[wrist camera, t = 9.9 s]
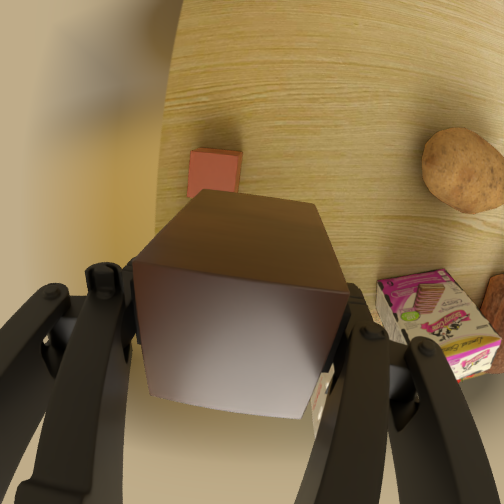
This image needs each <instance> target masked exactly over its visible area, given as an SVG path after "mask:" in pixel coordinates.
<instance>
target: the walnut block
mask: <svg viewBox="0 0 504 504" xmlns="http://www.w3.org/2000/svg"><path fill="white" fill-rule="evenodd" d="M132 266H133V279H134V290H135V301H136V310H137V318H138V326H139V334H140V341H141V348H142V354H143V360H144V366H145V372H146V378H147V383H148V388H149V393H150V395H151V396H155V397H159V398H163V399H167V400H172V401H176V402H181V403H185V404H190V405H195V406H200V407H206V408H211V409H217V410H223V411H229V412H236V413H244V414H251V415H260V416H269V417H279V418H291V419H301V418H302V417H303V414H304V412H305V410H306V407H307V405H308V403H309V401H310V399H311V396H312V394H313V392H314V389H315V387H316V385H317V382H318V380H319V377H320V375H321V372H322V370H323V367H324V365H325V362H326V360H327V357H328V355H329V352H330V349H331V347H332V344H333V341H334V339H335V336H336V333H337V330H338V328H339V325H340V322H341V319H342V316H343V313H344V310H345V307H346V304H347V301H348V298H349V295H350V291H349V289H348V286H347V283H346V281H345V278H344V275H343V273H342V270H341V267H340V265H339V262H338V260H337V257H336V255H335V252H334V250H333V247H332V245H331V242H330V240H329V237H328V235H327V232H326V230H325V227H324V225H323V223H322V220H321V218H320V215H319V213H318V211H317V208H316V206H315V204H312V203H305V202H299V201H293V200H286V199H280V198H273V197H266V196H259V195H251V194H244V193H236V192H228V191H220V190H211V189H202V190H201V191H200V192H199V193H198V194H197V195H196V196H195V197H194V198H193V199H192V200H191V201H190V202H189V203H188V204H187V205H186V206H185V207H184V208H183V209H182V210H181V211H180V212H179V213H178V214H177V215H176V216H175V217H174V218H173V219H172V220H171V221H170V222H169V223H168V224H167V225H166V226H165V227H164V228H163V229H162V230H161V231H160V232H159V233H158V234H157V235H156V236H155V237H154V238H153V239H152V240H151V241H150V243H149V244H148V245H147V246H146V247H145V248H144V249H143V250H142V251H141V252H140V253H139V254H138V255H137V256H136V258H135V259H134V260H133V261H132Z"/></svg>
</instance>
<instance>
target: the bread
mask: <svg viewBox="0 0 504 504" xmlns="http://www.w3.org/2000/svg"><path fill="white" fill-rule="evenodd" d="M480 311H481V312H482V314H483V315H484V316H485V317H486V319H487V320H488V321H489V323H490V324H491V325H492V327H493V328H494V329H495V331H496V332H497V333H498V335H499V336H500V337H501V338H502V339H501V343H500V346H499V348H498V350H497V353H496V355H495V358H494V360H493V363H492V365H491V367H490V369H488V370H485V371H483V372H486V373H491V374H500V373H504V274H500V275H496V276H493V277H491V278H490V281H489V284H488V288H487V291H486V294H485V297H484V300H483V303H482V306H481V309H480Z"/></svg>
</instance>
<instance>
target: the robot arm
mask: <svg viewBox="0 0 504 504" xmlns="http://www.w3.org/2000/svg"><path fill="white" fill-rule="evenodd" d="M135 258H136V257H134V258H132V259H131V260H130V261H129V262H128V263H127V266H125V267H124V268H123V269H122V268H121V267H120V266H119V265H117V264H115V263H110V262H102V263H97V264H93V265H91V266H90V267H88V268H87V269H86V270H85V276H86V282H87V288H88V294H87V296H70V295H69V291H68V288H67V287H66V285H63V284H61V283H50V284H48V285H45V286H43V287H41V288H40V289H39V290H37V292H36V293H34V294H33V296H31V297H30V298H29V299H28V300H27V302H26V303H24V304H23V305H22V306H21V308H20V309H19V310H18V311H17V312H16V313H15V314H14V315H13V316H12V317H11V318H10V319H9V320H8V321H7V322H6V324H4V326H3V327H2V328H1V329H0V504H1V503H2V501H3V498H4V496H5V494H6V491H7V489H8V487H9V485H10V482H11V480H12V478H13V476H14V473H15V471H16V469H17V467H18V465H19V463H20V460H21V458H22V456H23V454H24V452H25V450H26V448H27V446H28V444H29V442H30V440H31V438H32V436H33V434H34V433H35V431H36V429H37V427H38V425H39V423H40V421H41V420H42V418H43V416H44V414H45V412H46V414H45V418H44V423H43V426H42V430H41V435H40V439H39V444H38V449H37V454H36V459H35V465H34V470H33V474H32V476H31V478H30V479H28V480H25V481H22V482H21V483H20V484H19V486H18V487H17V491H16V495H15V501H14V504H123V503H122V502H123V501H122V500H123V497H122V479H123V475H122V474H123V445H124V427H125V414H126V402H127V392H128V383H129V373H130V366H131V358H132V351H133V350H132V344H131V340H132V338H133V337H134V335H135V333H136V337H137V344H140V345H141V341H140V334H139V326H138V318H137V310H136V301H135V290H134V279H133V266H132V261H133V260H134V259H135ZM347 286H348V289H349V291H350V295H349V298H348V301H347V304H346V307H345V310H344V313H343V316H342V319H341V322H340V325H339V328H338V330H337V333H336V336H335V339H334V341H333V344H332V347H331V349H330V352H329V355H328V357H327V360H326V362H325V365H324V367H323V370H322V372H321V373H329V371H330V368H331V366H332V363H333V366H334V371H335V372H334V374H333V376H332V378H331V381H330V383H329V385H328V387H327V389H326V391H325V394H327V397H326V401H325V405H324V409H323V413H322V417H321V420H320V424H319V428H318V431H317V435H316V438H315V442H314V445H313V448H312V452H311V455H310V458H309V462H308V465H307V468H306V471H305V474H304V477H303V480H302V483H301V486H300V489H299V492H298V494H297V497H296V500H295V503H294V504H379V498H380V492H381V486H382V479H383V471H384V463H385V453H386V444H387V432H389V438H390V443H391V448H392V455H393V460H394V466H395V472H396V479H397V486H398V493H399V501H400V504H501V503H500V499H499V495H498V491H497V488H496V484H495V480H494V477H493V474H492V471H491V467H490V464H489V461H488V458H487V455H486V452H485V449H484V446H483V443H482V440H481V438H480V435H479V432H478V429H477V427H476V424H475V422H474V419H473V417H472V414H471V412H470V409H469V407H468V404H467V402H466V400H465V397H464V395H463V393H462V391H461V388H460V386H459V384H458V382H457V380H456V377H455V375H454V373H453V371H452V369H451V367H450V365H449V363H448V361H447V359H446V357H445V355H444V353H443V351H442V349H441V347H440V346H439V345H438V344H437V343H436V342H435V341H434V340H432V339H430V338H428V337H423V336H416V337H414V338H412V340H411V341H410V343H409V345H405V344H402V343H398V342H395V341H392V340H390V339H389V335H388V332H387V331H386V330H385V328H384V327H382V326H381V325H379V324H377V323H375V322H374V321H373V318H372V316H371V313H370V311H369V309H368V306H367V305H366V301H365V299H364V297H363V294H362V292H361V290H360V289H359V288H358V287H357V286H356V285H355V284H353V283H347ZM46 335H47V336H48V339H49V340H48V341H47V343H45V344H44V342H43V339H44V338H45V337H46ZM417 395H418V396H419V399H418V396H417Z"/></svg>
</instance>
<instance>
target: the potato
mask: <svg viewBox="0 0 504 504" xmlns="http://www.w3.org/2000/svg"><path fill="white" fill-rule="evenodd" d="M422 174H423V180H424V182H425V184H426V186H427V187H428V189H429V191H430V192H431V193H432V194H433V195H434V196H436V197H437V198H438V199H439V200H441V201H442V202H444V203H446V204H448V205H449V206H451V207H453V208H454V209H456V210H458V211H460V212H462V213H468V214H476V213H479V212H483V211H486V210H490V209H494V208H497V207H499V206H501V205H503V204H504V157H503V156H502V155H501V154H500V153H499V152H498V151H497V150H496V149H495V148H494V147H493V146H492V145H490V144H489V143H488V142H487V141H486V140H484V139H483V138H482V137H480V136H479V135H478V134H476V133H474V132H472V131H470V130H468V129H466V128H449V129H446V130H442V131H439V132H436V133H435V134H434V135H433V136H432V138H431V139H430V140H429V141H428V142H427V143H426V144H425V148H424V152H423V156H422Z"/></svg>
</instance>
